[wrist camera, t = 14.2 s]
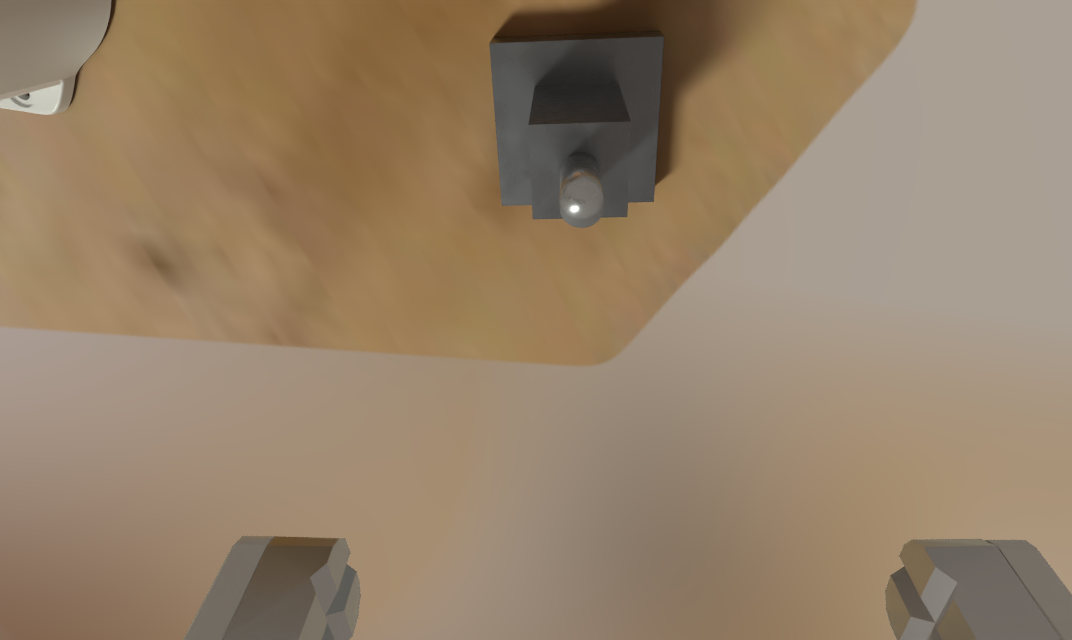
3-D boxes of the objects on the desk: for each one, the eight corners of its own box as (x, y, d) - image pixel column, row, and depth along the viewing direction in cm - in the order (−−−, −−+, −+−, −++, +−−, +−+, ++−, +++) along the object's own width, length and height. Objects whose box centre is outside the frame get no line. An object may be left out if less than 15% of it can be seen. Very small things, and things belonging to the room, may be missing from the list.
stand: (504, 194, 43) (481, 303, 31) (492, 37, 38) (459, 96, 26) (650, 190, 43) (684, 300, 31) (659, 30, 37) (706, 88, 25)
